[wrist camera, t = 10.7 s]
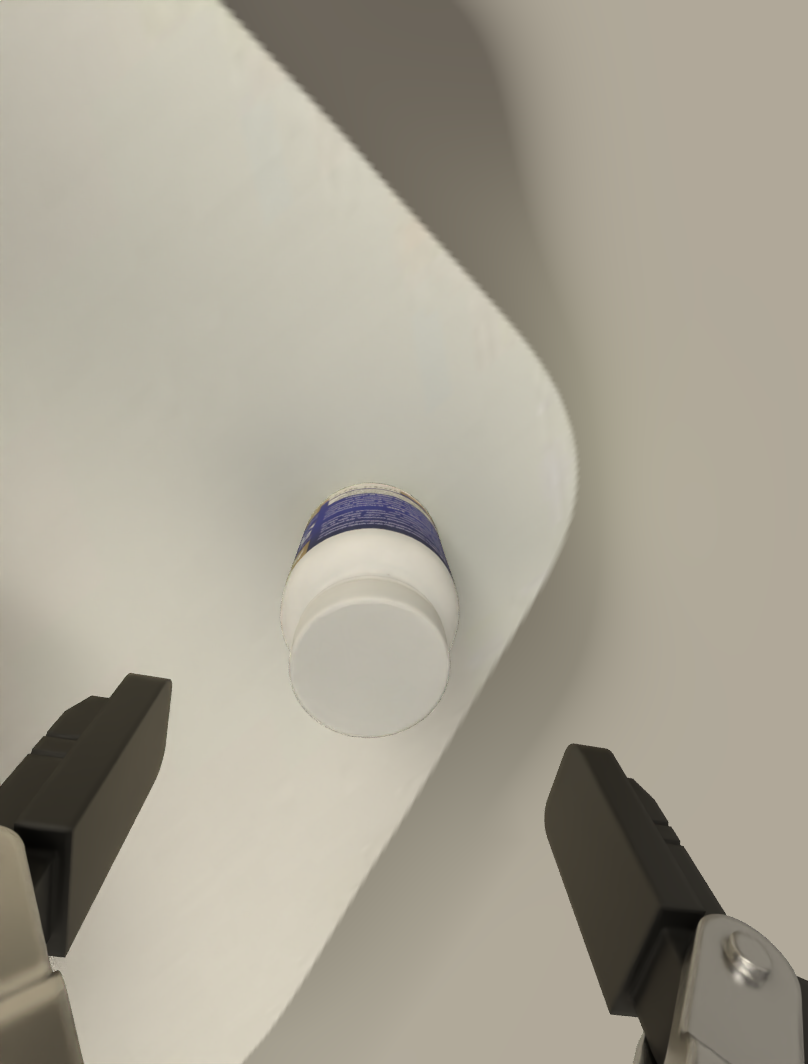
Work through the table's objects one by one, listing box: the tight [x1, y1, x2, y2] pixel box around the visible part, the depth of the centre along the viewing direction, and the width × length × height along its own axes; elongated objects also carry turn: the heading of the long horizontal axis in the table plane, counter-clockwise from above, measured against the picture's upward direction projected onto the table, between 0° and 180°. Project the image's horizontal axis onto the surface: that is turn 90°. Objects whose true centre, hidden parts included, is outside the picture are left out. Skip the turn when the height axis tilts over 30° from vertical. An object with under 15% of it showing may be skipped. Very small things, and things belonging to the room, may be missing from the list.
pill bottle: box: [280, 483, 459, 738], centre depth 18 cm, size 5×5×9 cm
